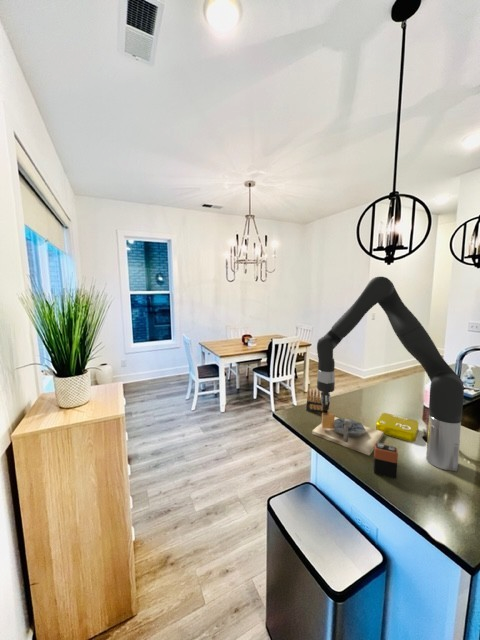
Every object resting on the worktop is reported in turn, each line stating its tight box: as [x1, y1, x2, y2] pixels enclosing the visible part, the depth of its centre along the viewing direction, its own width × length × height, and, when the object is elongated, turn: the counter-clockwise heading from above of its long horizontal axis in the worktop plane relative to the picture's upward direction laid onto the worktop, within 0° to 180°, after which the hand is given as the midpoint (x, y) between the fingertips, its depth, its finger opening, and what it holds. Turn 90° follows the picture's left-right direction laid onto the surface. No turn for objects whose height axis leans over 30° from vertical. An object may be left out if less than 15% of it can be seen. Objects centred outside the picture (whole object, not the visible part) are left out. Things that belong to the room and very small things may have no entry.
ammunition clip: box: [305, 388, 322, 414], centre depth 141 cm, size 11×2×12 cm, turn 69°
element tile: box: [375, 412, 419, 443], centre depth 121 cm, size 15×15×5 cm
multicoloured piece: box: [321, 412, 365, 436], centre depth 117 cm, size 18×13×6 cm
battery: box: [373, 442, 399, 479], centre depth 92 cm, size 4×7×10 cm, turn 65°
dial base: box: [311, 416, 385, 457], centre depth 117 cm, size 24×20×8 cm
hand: (324, 416), depth 122 cm, fingers closed
